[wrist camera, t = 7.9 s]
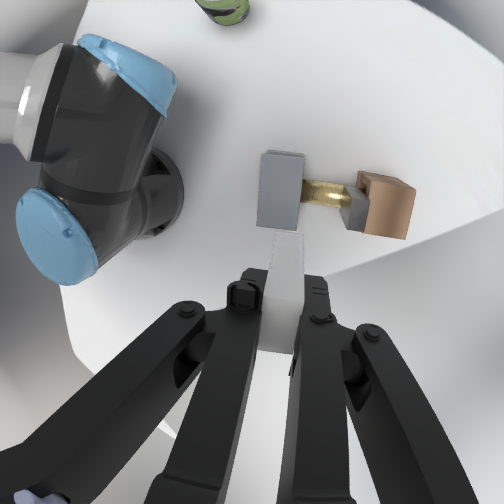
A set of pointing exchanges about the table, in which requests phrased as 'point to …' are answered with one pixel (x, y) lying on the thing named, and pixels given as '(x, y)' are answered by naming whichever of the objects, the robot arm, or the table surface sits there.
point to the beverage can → (225, 10)
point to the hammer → (339, 201)
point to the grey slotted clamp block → (280, 189)
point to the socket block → (387, 204)
